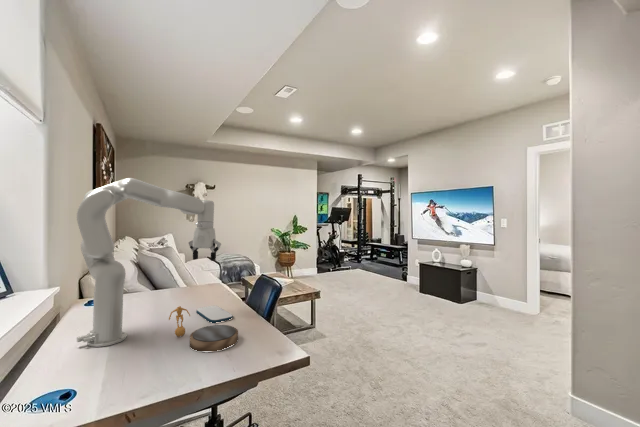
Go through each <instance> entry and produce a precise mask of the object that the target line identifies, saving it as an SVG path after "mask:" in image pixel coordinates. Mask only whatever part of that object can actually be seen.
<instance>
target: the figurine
mask: <svg viewBox="0 0 640 427" xmlns="http://www.w3.org/2000/svg"><path fill="white" fill-rule="evenodd" d="M183 311H186V312H187V314H188V316H189V317H191V314H190V312H189V310H188V309H187V308H184V307H181V306H180V305H178V307H176V308H175V309H174V310H172V311H170V315H169V317H168V320H171V317H172V314H174V313H175V312H176V314H177V315H176V314H175V317H176V318H175V320H176V325H177V328H175V331H174V334H175V336H176V337H178V338H179V337H180V336H181V337H183V336H184V335H185V334H186V328H185V327H184V326H183V322H184V314H182V312H183ZM179 320H181V321H180V325H179ZM181 337H180V338H181Z"/></svg>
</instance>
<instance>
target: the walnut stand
mask: <svg viewBox="0 0 640 427" xmlns="http://www.w3.org/2000/svg"><path fill="white" fill-rule="evenodd" d="M237 340H238V341H239V329H238V328H237V327H234V326H233V325H232V326H231V325H228V324H213V325H207V326H203V327H200V328H198V329H196V330H194V331H193V332H191V334H190V335H189V348H190V347H191V348H192V349H194V350H197V351H217V350H222V349H224V348H227V347H229V346H231V345H233V344H235V343H236V342H237ZM237 343H238V342H237ZM235 345H236V344H235ZM191 348H190V349H191ZM192 349H191V350H192ZM194 350H193V351H194ZM197 351H196V352H197ZM222 351H223V350H222Z"/></svg>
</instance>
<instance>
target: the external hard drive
mask: <svg viewBox="0 0 640 427" xmlns="http://www.w3.org/2000/svg"><path fill="white" fill-rule="evenodd" d="M195 312H196V314H197V315H198V314H199V316H200V317H202V319H204V320H205V319H206V320H205V321H206V322H208V321H209V322H208V323H210V322H212V323H211V324H217V323H216V322H221V321H225V320H229V319H231V318H234V316H233V315H234V314H232V313H231V312H229V311H227V310H225V309H223V308H222V307H220V306H218V305H208V306H203V307H197V309H196V311H195ZM229 321H230V320H229ZM225 322H226V321H225ZM221 323H222V322H221Z"/></svg>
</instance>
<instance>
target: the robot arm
mask: <svg viewBox="0 0 640 427" xmlns="http://www.w3.org/2000/svg"><path fill="white" fill-rule="evenodd" d="M128 199H131V200H134V201H138V202H141V203H144V204H148V205H151V206H155V207H160V208H167V209H169V208H170V209H176V210H179V211H180V212H181V213H182V214H184V215H189V216H190V215H191V216H192V215H195V216H196V215H197V219H196V222H195V224H194V225H195V226H196V227H195V229H194V232H193V238H192V240H191V241H189V242H188V246H189V248H190V250H191V252H192V260H198V259H199V251H198V250H199V249H209V250H210V251H211V252H210V261H211V262H212V261H215V260H216V259H217V253H218V251H219V250H220V248H221V246H222V243H221V242H219V241H218V240H216V229H215V228H214V222H215V221H214V218H215V215H214V214H215V202H214V201H213V200H208V199H206V200H205V199H203V200H202V199H200V198H199V197H195V196H193V195H189V194H186V193H183V192H180V191H175V190H172V189H168V188H164V187H161V186H158V185H156V184H152V183H149V182H147V181H143V180H140V179H137V178H133V177H127V178H121V179H120V180H117V181H113V182H112V183H109V184H106V185H103V186H101V187H97V188H95V189H90V190H88V191H87V192H85V194H84V196H83V200H82V201H81V202H80V203H79V206H78V209H77V211H76V221H77V226H78V229H79V233H80V235H81V238H82V240H81V242H80V250H81V253H82V256H83V260H84V262H85V265H86V266H87V269H88V271H89V274H90V276H91V277H92V278H93V279H94V282H95V283H94V291H93V308H92V309H93V310H92V311H93V313H92V314H93V317H92V330H89V333H87V334H86V335H80V336H78V337H76V342H77V343H80V342H83V343H87V346H88V347H93V348H96V347H97V348H99V347H101V348H102V347H107V346H112V345H116V344H118V343H121V342H123V341H124V340H126V339H127V335H128V334H127V333H126V332H124V331H123V318H124V317H123V313H124V311H123V310H124V288H125V280H126V276H127V275H126V268H125V267H124V265H123V264H122V263H121V262H120V261H118V260H116V259H115V255H114V254H113V253H114V251H115V243H114V240H113V239H112V238H113V237H112V236H111V233H110V230H109V228H108V224H107V220H106V214H107V212H108V210H109V209H110V208H111V207H113V205H116V204H119V203H121V202H123V201H126V200H128Z"/></svg>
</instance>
